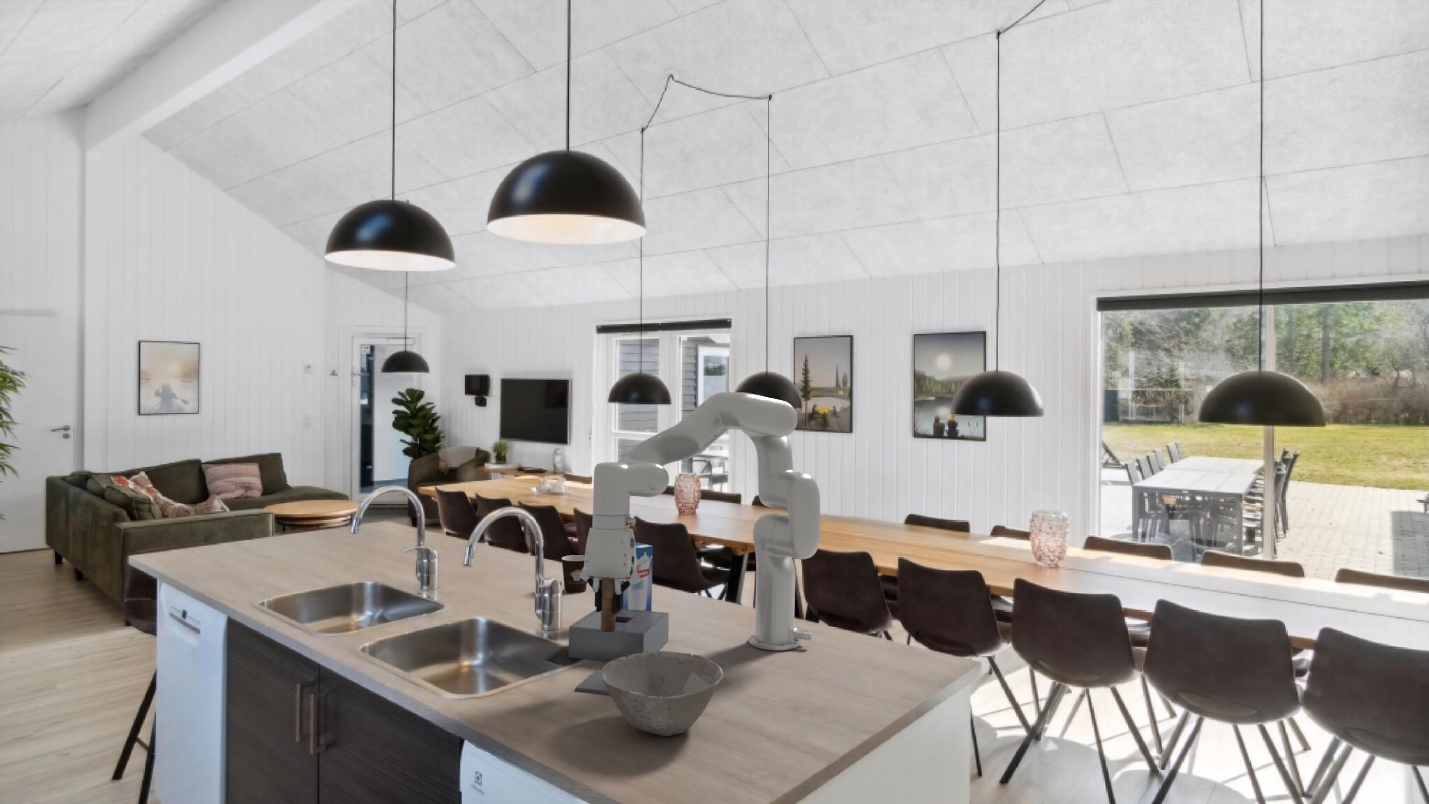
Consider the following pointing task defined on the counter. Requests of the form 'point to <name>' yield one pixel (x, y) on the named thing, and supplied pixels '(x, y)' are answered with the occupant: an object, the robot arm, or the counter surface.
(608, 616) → the dowel
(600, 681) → the mat
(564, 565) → the coffee mug
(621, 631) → the box
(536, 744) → the counter surface
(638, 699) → the ceramic bowl
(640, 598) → the milk carton
